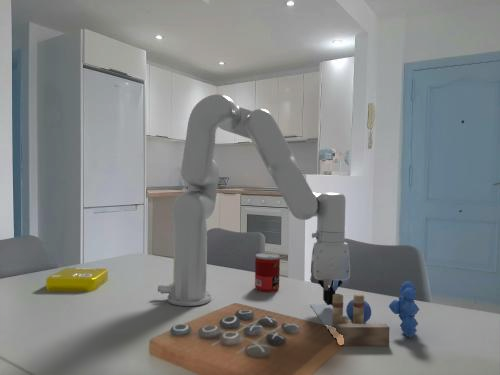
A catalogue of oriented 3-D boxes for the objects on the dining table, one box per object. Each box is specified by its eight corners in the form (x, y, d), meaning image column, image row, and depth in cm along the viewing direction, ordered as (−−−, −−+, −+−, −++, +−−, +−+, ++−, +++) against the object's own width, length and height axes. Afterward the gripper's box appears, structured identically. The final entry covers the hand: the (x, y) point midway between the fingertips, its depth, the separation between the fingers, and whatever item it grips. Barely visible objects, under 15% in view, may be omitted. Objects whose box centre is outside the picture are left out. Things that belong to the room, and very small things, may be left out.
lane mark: (334, 339, 85) (334, 338, 85) (310, 304, 109) (310, 304, 109) (373, 339, 85) (373, 338, 85) (341, 304, 109) (341, 304, 109)
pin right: (354, 333, 89) (355, 296, 88) (351, 329, 91) (352, 293, 91) (365, 333, 89) (366, 296, 89) (361, 329, 91) (362, 293, 91)
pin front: (338, 325, 93) (349, 340, 84) (339, 315, 93) (351, 328, 84) (348, 327, 93) (360, 341, 84) (349, 317, 93) (362, 330, 84)
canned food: (277, 293, 120) (278, 258, 120) (252, 291, 122) (253, 256, 122) (280, 286, 128) (281, 253, 127) (257, 284, 129) (257, 252, 129)
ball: (368, 297, 93) (347, 291, 97) (359, 319, 90) (338, 313, 95) (378, 308, 96) (357, 302, 100) (370, 330, 93) (349, 324, 98)
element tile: (109, 280, 132) (109, 267, 132) (93, 293, 117) (93, 277, 117) (65, 280, 131) (65, 266, 131) (43, 292, 116) (43, 277, 116)
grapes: (386, 322, 96) (387, 275, 96) (415, 326, 94) (416, 277, 94) (389, 340, 85) (390, 286, 85) (422, 344, 83) (424, 289, 83)
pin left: (333, 333, 88) (334, 296, 88) (330, 329, 91) (331, 293, 91) (343, 333, 88) (344, 296, 88) (340, 329, 91) (341, 293, 91)
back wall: (338, 345, 81) (339, 327, 81) (336, 342, 83) (336, 323, 83) (389, 345, 82) (389, 327, 82) (385, 341, 84) (385, 323, 84)
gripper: (306, 239, 101) (305, 308, 101) (361, 239, 102) (360, 308, 102) (301, 235, 109) (299, 299, 109) (352, 235, 110) (350, 299, 110)
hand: (329, 303), depth 106 cm, fingers closed
